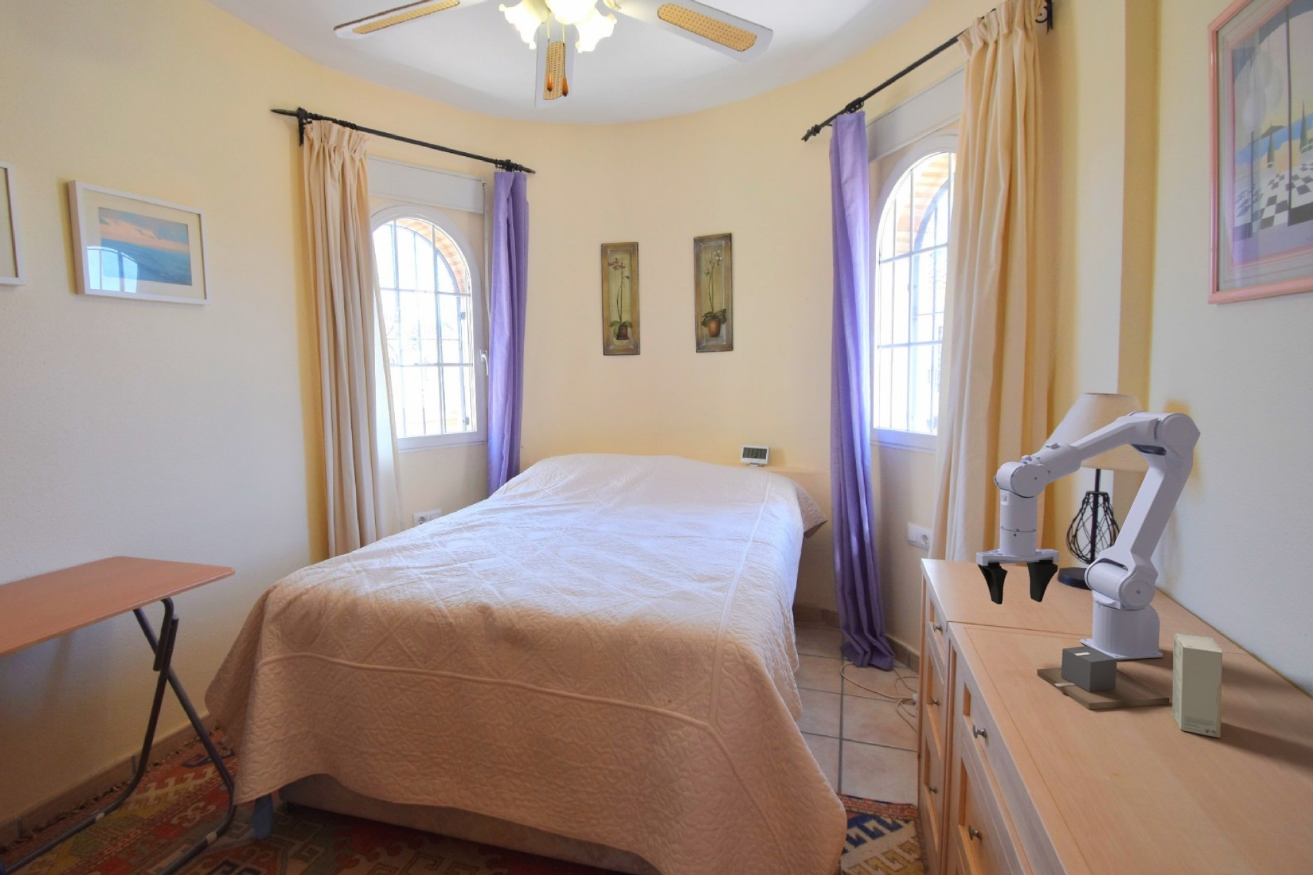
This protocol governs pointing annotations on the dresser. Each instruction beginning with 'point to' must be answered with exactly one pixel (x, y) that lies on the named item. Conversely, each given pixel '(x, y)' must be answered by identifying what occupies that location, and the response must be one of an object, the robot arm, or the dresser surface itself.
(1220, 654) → the skincare box
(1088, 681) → the mini file drawer
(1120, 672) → the board
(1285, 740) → the dresser surface
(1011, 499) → the robot arm
